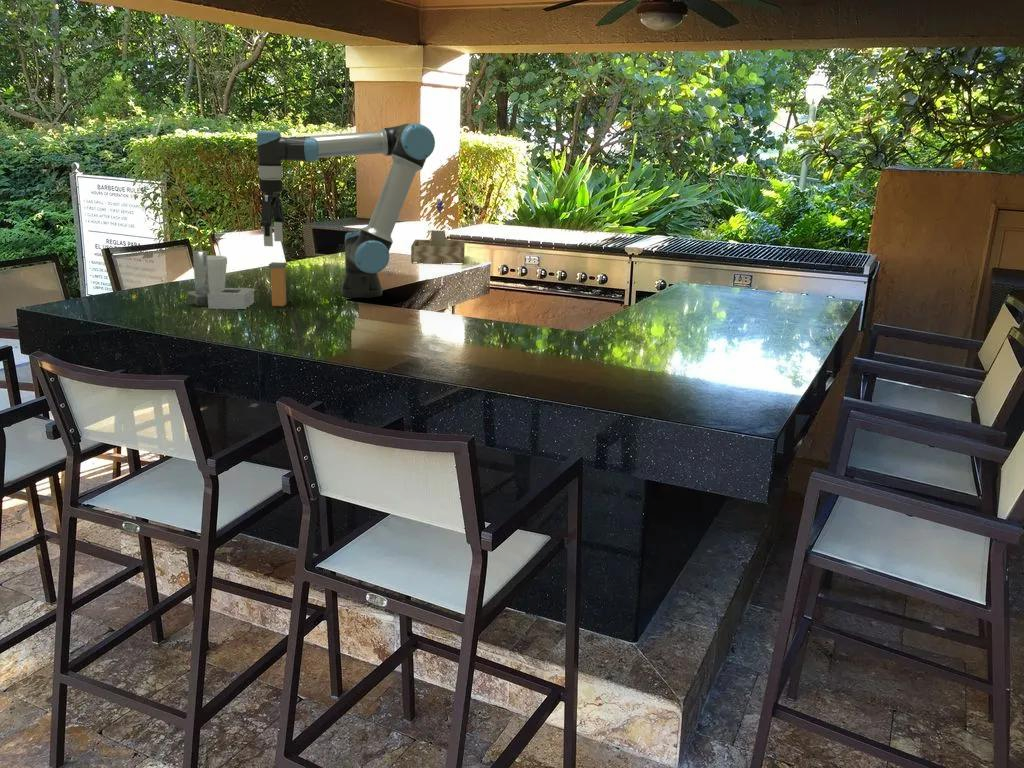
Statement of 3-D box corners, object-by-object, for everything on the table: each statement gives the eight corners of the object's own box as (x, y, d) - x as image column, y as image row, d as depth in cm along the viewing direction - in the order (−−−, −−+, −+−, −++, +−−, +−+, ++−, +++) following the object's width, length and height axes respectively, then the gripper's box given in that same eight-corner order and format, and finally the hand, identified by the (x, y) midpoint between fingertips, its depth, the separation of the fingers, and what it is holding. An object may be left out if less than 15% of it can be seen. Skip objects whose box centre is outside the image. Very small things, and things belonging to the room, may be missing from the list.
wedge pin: (287, 303, 296) (286, 262, 292) (284, 306, 291) (283, 264, 288) (273, 303, 296) (272, 262, 292) (270, 306, 291) (268, 264, 287)
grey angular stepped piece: (262, 296, 307) (260, 246, 302) (245, 309, 284) (242, 255, 279) (204, 295, 306) (201, 244, 301) (182, 307, 283) (178, 253, 278)
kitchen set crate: (464, 257, 426) (464, 241, 424) (463, 264, 401) (463, 247, 399) (415, 255, 425) (415, 239, 423) (411, 263, 400) (411, 246, 398)
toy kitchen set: (463, 259, 419) (463, 228, 415) (454, 264, 404) (454, 231, 399) (426, 257, 423) (427, 226, 419) (416, 261, 407) (416, 229, 403)
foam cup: (223, 296, 305) (221, 259, 301) (197, 295, 305) (195, 258, 302) (232, 291, 314) (230, 256, 311) (207, 290, 314) (204, 255, 311)
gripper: (268, 176, 294) (271, 239, 300) (248, 180, 271) (252, 248, 276) (290, 177, 295) (293, 239, 301) (272, 181, 271) (275, 248, 277)
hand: (273, 243), depth 289 cm, fingers open, 13 cm apart
